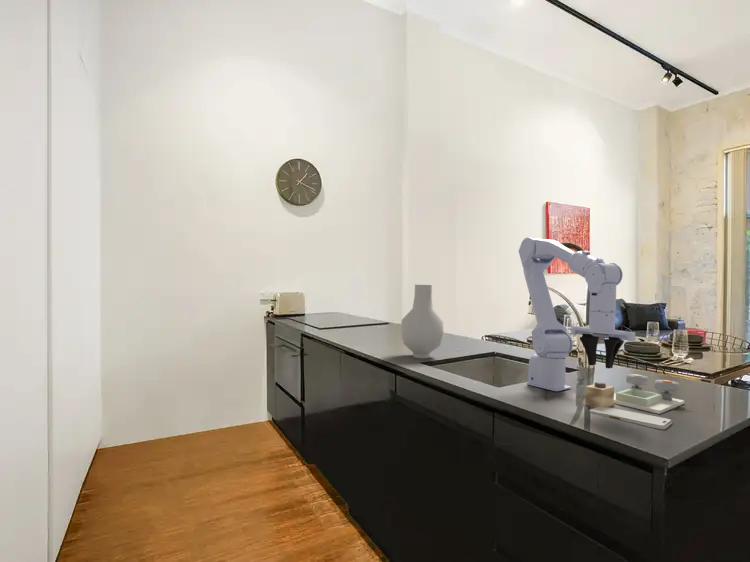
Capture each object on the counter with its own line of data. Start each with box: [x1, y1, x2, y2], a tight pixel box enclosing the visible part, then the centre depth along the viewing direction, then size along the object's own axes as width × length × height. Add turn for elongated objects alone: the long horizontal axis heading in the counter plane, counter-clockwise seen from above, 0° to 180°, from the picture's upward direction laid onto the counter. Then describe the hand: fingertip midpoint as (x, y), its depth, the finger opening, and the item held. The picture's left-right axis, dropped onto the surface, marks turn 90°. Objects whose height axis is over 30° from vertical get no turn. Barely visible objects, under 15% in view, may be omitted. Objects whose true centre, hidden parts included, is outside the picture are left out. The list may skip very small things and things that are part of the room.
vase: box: [400, 284, 445, 359], centre depth 163 cm, size 17×16×28 cm
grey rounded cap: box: [654, 379, 680, 393], centre depth 108 cm, size 5×5×3 cm
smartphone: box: [588, 406, 673, 430], centre depth 94 cm, size 7×1×15 cm
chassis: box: [614, 373, 685, 415], centre depth 107 cm, size 13×16×6 cm
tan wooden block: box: [584, 381, 615, 408], centre depth 104 cm, size 4×6×5 cm, turn 127°
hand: (600, 366), depth 104 cm, fingers open, 3 cm apart
